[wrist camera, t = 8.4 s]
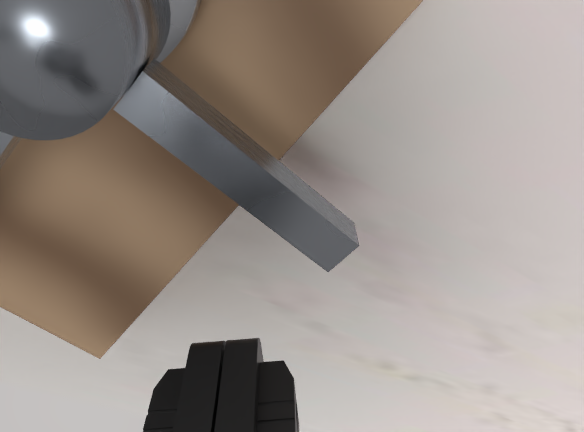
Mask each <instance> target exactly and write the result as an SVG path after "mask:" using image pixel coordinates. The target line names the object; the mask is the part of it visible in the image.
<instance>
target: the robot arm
mask: <svg viewBox="0 0 584 432" xmlns="http://www.w3.org/2000/svg"><path fill="white" fill-rule="evenodd" d="M143 432H299V421H298V412H297V403H296V394H295V385H294V378H293V376H292V374H291V373H290V371H289V369H288V367H287V366H286V364H285V362H284V361H272V362H264V361H263V355H262V348H261V342H260V339H259V338H253V339H240V340H227V341H226V342H225V341H216V342H203V343H192V344H191V346H190V349H189V354H188V359H187V363H186V368H181V369H168V371H167V372H166V373H165V375H164V376H163V377H162V379H161V380H160V381H159V383H158V384H157V385H156V387H155V388H154V390H153V394H152V398H151V401H150V405H149V409H148V415H147V416H146V420H145V424H144V428H143Z"/></svg>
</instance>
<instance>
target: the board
mask: <svg viewBox="0 0 584 432" xmlns="http://www.w3.org/2000/svg"><path fill="white" fill-rule="evenodd" d="M422 1H423V0H201V3H200V7H199V10H198V13H197V15H196V17H195V19H194V21H193V23H192V26H191V27H190V29H189V30H188V32H187V33H186V35H185V36H184V38H183V39H182V40H181V42H180V43H179V44H178V45H177V46H176V47H175V48H174V50H173V51H172V52H171V53H170V54H169V55H168V56H167V57H166V58H165V59H164V60H163V61H162V62H160V63H161V64H162V65H163V66H164V67H165V68H167V69H168V70H169V71H170V72H172V73H173V74H174V75H175V76H176V77H178V78H179V79H180V80H181V81H182V82H184V83H185V84H186V85H187V86H189V87H190V88H191V89H192V90H193V91H195V92H196V93H197V94H198V95H199V96H201V97H202V98H203V99H204V100H206V101H207V102H208V103H209V104H210V105H212V106H213V107H214V108H215V109H216V110H218V111H219V112H220V113H221V114H223V115H224V116H225V117H226V118H227V119H229V120H230V121H231V122H232V123H233V124H235V125H236V126H237V127H238V128H240V129H241V130H242V131H243V132H244V133H246V134H247V135H248V136H249V137H250V138H252V139H253V140H254V141H255V142H256V143H258V144H259V145H260V146H261V147H263V148H264V149H265V150H266V151H267V152H269V153H270V154H271V155H272V156H273V157H275V158H276V159H277V160H278V161H279V160H280V159H281V157H282V156H283V155H284V154H285V153H286V152H287V151H288V150H289V149H290V147H291V146H292V145H293V144H294V143H295V142H296V141H297V140H298V139H299V138H300V136H301V135H302V134H303V133H304V132H305V131H306V130H307V129H308V128H309V126H310V125H311V124H312V123H313V122H314V121H315V120H316V119H317V118H318V116H319V115H320V114H321V113H322V112H323V111H324V110H325V109H326V108H327V106H328V105H329V104H330V103H331V102H332V101H333V100H334V99H335V98H336V96H337V95H338V94H339V93H340V92H341V91H342V90H343V89H344V88H345V86H346V85H347V84H348V83H349V82H350V81H351V80H352V79H353V78H354V76H355V75H356V74H357V73H358V72H359V71H360V70H361V69H362V68H363V67H364V65H365V64H366V63H367V62H368V61H369V60H370V59H371V58H372V57H373V55H374V54H375V53H376V52H377V51H378V50H379V49H380V48H381V47H382V45H383V44H384V43H385V42H386V41H387V40H388V39H389V38H390V37H391V35H392V34H393V33H394V32H395V31H396V30H397V29H398V28H399V27H400V25H401V24H402V23H403V22H404V21H405V20H406V19H407V18H408V17H409V15H410V14H411V13H412V12H413V11H414V10H415V9H416V8H417V7H418V6H419V4H420V3H421V2H422ZM124 95H125V94H124ZM124 95H123V96H124ZM121 99H122V98H121ZM121 99H120V100H121ZM120 100H119V101H120ZM119 101H118V102H117V103H116V104H115V105H114V106H113V107H112V108H111V110H110V111H109V112H108V113H107V114H106V115H105V116H104V117H103V118H102V119H101V120H100V121H99V122H98V123H96V124H95V125H94V126H92V127H91V128H89V129H87V130H86V131H84V132H82V133H79V134H77V135H74V136H72V137H68V138H64V139H58V140H31V139H24V138H22V139H21V140H20V142H19V143H18V144H17V146H16V147H15V149H14V150H13V152H12V153H11V155H10V156H9V158H8V159H7V160H6V162H5V163H4V165H3V166H2V168H1V169H0V307H2V308H4V309H5V310H7V311H9V312H11V313H13V314H15V315H17V316H19V317H21V318H23V319H25V320H26V321H28V322H30V323H32V324H34V325H36V326H38V327H40V328H42V329H44V330H46V331H48V332H49V333H51V334H53V335H55V336H57V337H59V338H61V339H63V340H65V341H67V342H69V343H70V344H72V345H74V346H76V347H78V348H80V349H82V350H84V351H86V352H88V353H90V354H92V355H93V356H95V357H97V358H99V359H100V358H101V357H102V356H103V355H104V354H105V353H106V352H107V350H108V349H109V348H110V347H111V346H112V345H113V344H114V343H115V342H116V340H117V339H118V338H119V337H120V336H121V335H122V334H123V333H124V332H125V331H126V329H127V328H128V327H129V326H130V325H131V324H132V323H133V322H134V321H135V319H136V318H137V317H138V316H139V315H140V314H141V313H142V312H143V311H144V309H145V308H146V307H147V306H148V305H149V304H150V303H151V302H152V301H153V299H154V298H155V297H156V296H157V295H158V294H159V293H160V292H161V291H162V289H163V288H164V287H165V286H166V285H167V284H168V283H169V282H170V281H171V279H172V278H173V277H174V276H175V275H176V274H177V273H178V272H179V271H180V269H181V268H182V267H183V266H184V265H185V264H186V263H187V262H188V261H189V260H190V258H191V257H192V256H193V255H194V254H195V253H196V252H197V251H198V250H199V248H200V247H201V246H202V245H203V244H204V243H205V242H206V241H207V240H208V238H209V237H210V236H211V235H212V234H213V233H214V232H215V231H216V230H217V228H218V227H219V226H220V225H221V224H222V223H223V222H224V221H225V220H226V218H227V217H228V216H229V215H230V214H231V213H232V212H233V211H234V210H235V208H236V207H237V206H238V205H239V204H237V203H236V202H235V201H233V200H232V199H231V198H229V197H228V196H227V195H226V194H224V193H223V192H222V191H220V190H219V189H218V188H216V187H215V186H214V185H212V184H211V183H210V182H208V181H207V180H206V179H204V178H203V177H202V176H200V175H199V174H198V173H197V172H195V171H194V170H193V169H191V168H190V167H189V166H187V165H186V164H185V163H183V162H182V161H181V160H179V159H178V158H177V157H175V156H174V155H173V154H171V153H170V152H169V151H167V150H166V149H165V148H164V147H162V146H161V145H160V144H158V143H157V142H156V141H154V140H153V139H152V138H150V137H149V136H148V135H146V134H145V133H144V132H142V131H141V130H140V129H138V128H137V127H136V126H135V125H133V124H132V123H131V122H129V121H128V120H127V119H125V118H124V117H123V116H121V115H120V114H119V113H117V112H116V111H115V110H113V109H114V108H115V107H116V105H117V104H118V103H119Z"/></svg>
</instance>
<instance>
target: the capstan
mask: <svg viewBox="0 0 584 432" xmlns="http://www.w3.org/2000/svg"><path fill="white" fill-rule="evenodd" d="M200 3H201V0H0V169H1V168H2V166H3V165H4V163H5V162H6V160H7V159H8V158H9V156H10V155H11V153H12V152H13V150H14V149H15V147H16V146H17V144H18V143H19V142H20V140H21V139H22V138H24V139H31V140H58V139H64V138H68V137H72V136H74V135H77V134H79V133H82V132H84V131H86V130H87V129H89V128H91V127H92V126H94V125H95V124H96V123H98V122H99V121H100V120H101V119H102V118H103V117H104V116H105V115H106V114H107V113H108V112H109V111H110V110H111V108H112V107H113V106H114V105H115V104H116V103H117V102H118V101H119V100H120V99H121V98H122V99H121V100H120V101H119V103H118V104H117V105H116V107H115V108H114V109H113V110H115V111H116V112H117V113H119V114H120V115H121V116H123V117H124V118H125V119H127V120H128V121H129V122H131V123H132V124H133V125H135V126H136V127H137V128H138V129H140V130H141V131H142V132H144V133H145V134H146V135H148V136H149V137H150V138H152V139H153V140H154V141H156V142H157V143H158V144H160V145H161V146H162V147H164V148H165V149H166V150H167V151H169V152H170V153H171V154H173V155H174V156H175V157H177V158H178V159H179V160H181V161H182V162H183V163H185V164H186V165H187V166H189V167H190V168H191V169H193V170H194V171H195V172H197V173H198V174H199V175H200V176H202V177H203V178H204V179H206V180H207V181H208V182H210V183H211V184H212V185H214V186H215V187H216V188H218V189H219V190H220V191H222V192H223V193H224V194H226V195H227V196H228V197H229V198H231V199H232V200H233V201H235V202H236V203H237V204H239V205H240V206H241V207H243V208H244V209H245V210H247V211H248V212H249V213H251V214H252V215H253V216H255V217H256V218H257V219H259V220H260V221H261V222H262V223H264V224H265V225H266V226H268V227H269V228H270V229H272V230H273V231H274V232H276V233H277V234H278V235H280V236H281V237H282V238H284V239H285V240H286V241H288V242H289V243H290V244H291V245H293V246H294V247H295V248H297V249H298V250H299V251H301V252H302V253H303V254H305V255H306V256H307V257H309V258H310V259H311V260H313V261H314V262H315V263H317V264H318V265H319V266H321V267H322V268H323V269H324V270H326V271H327V272H329V271H330V270H331V269H333V268H334V267H335V266H336V265H337V264H338V263H340V262H341V261H342V260H343V259H344V258H345V257H347V256H348V255H349V254H350V253H351V252H352V251H353V250H355V249H356V248H357V247H358V246H359V243H358V238H357V234H356V229H355V225H354V222H352V221H351V220H350V219H349V218H348V217H346V216H345V215H344V214H343V213H341V212H340V211H339V210H338V209H337V208H335V207H334V206H333V205H332V204H331V203H329V202H328V201H327V200H326V199H324V198H323V197H322V196H321V195H320V194H318V193H317V192H316V191H315V190H314V189H312V188H311V187H310V186H309V185H307V184H306V183H305V182H304V181H303V180H301V179H300V178H299V177H298V176H297V175H295V174H294V173H293V172H292V171H290V170H289V169H288V168H287V167H286V166H284V165H283V164H282V163H281V162H280V161H278V160H277V159H276V158H275V157H273V156H272V155H271V154H270V153H269V152H267V151H266V150H265V149H264V148H263V147H261V146H260V145H259V144H258V143H256V142H255V141H254V140H253V139H252V138H250V137H249V136H248V135H247V134H246V133H244V132H243V131H242V130H241V129H240V128H238V127H237V126H236V125H235V124H233V123H232V122H231V121H230V120H229V119H227V118H226V117H225V116H224V115H223V114H221V113H220V112H219V111H218V110H216V109H215V108H214V107H213V106H212V105H210V104H209V103H208V102H207V101H206V100H204V99H203V98H202V97H201V96H199V95H198V94H197V93H196V92H195V91H193V90H192V89H191V88H190V87H189V86H187V85H186V84H185V83H184V82H182V81H181V80H180V79H179V78H178V77H176V76H175V75H174V74H173V73H172V72H170V71H169V70H168V69H167V68H165V67H164V66H163V65H162V64H161V63H160V62H162V61H163V60H164V59H165V58H166V57H167V56H168V55H169V54H170V53H171V52H172V51H173V50H174V48H175V47H176V46H177V45H178V44H179V43H180V42H181V40H182V39H183V38H184V36H185V35H186V33H187V32H188V30H189V29H190V27H191V26H192V23H193V21H194V19H195V17H196V15H197V13H198V10H199V7H200ZM124 94H125V95H124ZM123 95H124V96H123Z"/></svg>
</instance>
